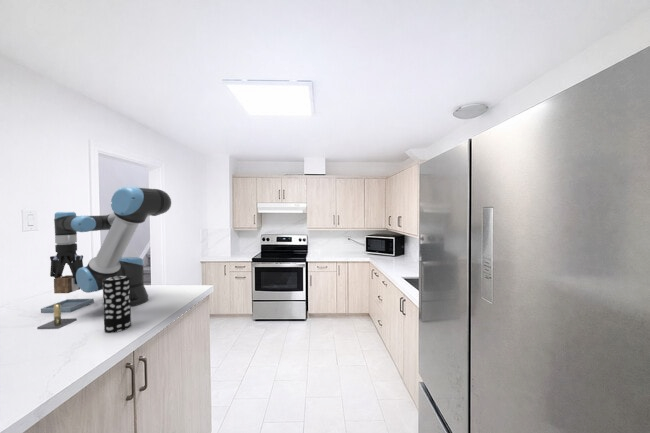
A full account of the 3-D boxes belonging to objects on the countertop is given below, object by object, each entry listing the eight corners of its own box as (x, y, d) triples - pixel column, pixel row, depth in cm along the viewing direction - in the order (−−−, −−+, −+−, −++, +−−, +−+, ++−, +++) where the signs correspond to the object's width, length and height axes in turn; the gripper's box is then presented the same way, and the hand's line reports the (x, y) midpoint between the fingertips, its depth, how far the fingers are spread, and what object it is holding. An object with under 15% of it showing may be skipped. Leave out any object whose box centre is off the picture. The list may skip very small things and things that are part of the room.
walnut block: (80, 289, 131) (79, 275, 130) (68, 293, 124) (67, 278, 124) (67, 289, 130) (66, 275, 130) (54, 293, 124) (53, 278, 124)
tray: (93, 302, 134) (93, 298, 134) (69, 312, 121) (69, 308, 121) (67, 303, 134) (67, 299, 134) (40, 313, 121) (40, 308, 121)
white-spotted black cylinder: (129, 321, 110) (127, 274, 109) (132, 327, 104) (131, 277, 103) (103, 328, 104) (101, 278, 103) (105, 335, 98) (103, 282, 98)
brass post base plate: (76, 320, 112) (75, 301, 112) (58, 328, 104) (57, 307, 104) (57, 320, 112) (56, 301, 112) (37, 329, 104) (36, 308, 104)
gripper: (93, 242, 131) (94, 288, 131) (53, 242, 130) (55, 288, 131) (79, 244, 123) (81, 292, 124) (37, 244, 123) (39, 293, 123)
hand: (67, 290), depth 127 cm, fingers closed on walnut block, 6 cm apart
